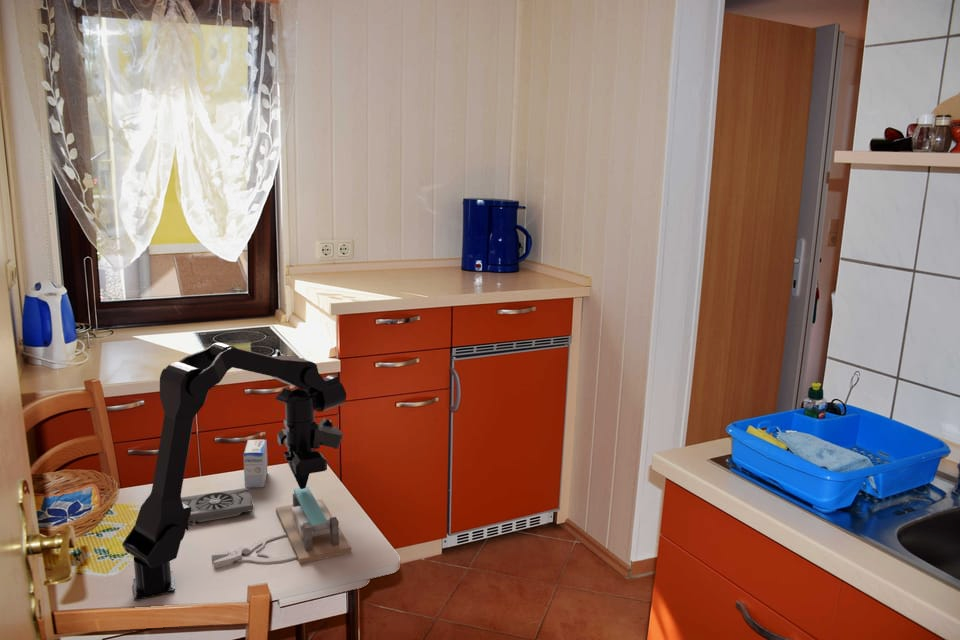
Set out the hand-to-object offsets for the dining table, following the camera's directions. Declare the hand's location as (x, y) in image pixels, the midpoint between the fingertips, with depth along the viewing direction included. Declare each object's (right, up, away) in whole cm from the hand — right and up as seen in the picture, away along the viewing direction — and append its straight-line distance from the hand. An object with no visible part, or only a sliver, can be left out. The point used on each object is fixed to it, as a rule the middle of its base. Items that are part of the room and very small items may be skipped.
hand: (302, 487), depth 157 cm
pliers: (-6, -10, -13) cm, 18 cm away
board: (+3, -8, -5) cm, 10 cm away
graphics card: (-20, -7, +1) cm, 21 cm away
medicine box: (-15, -2, +17) cm, 23 cm away
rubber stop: (0, -6, +2) cm, 7 cm away
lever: (+3, -3, -6) cm, 7 cm away
